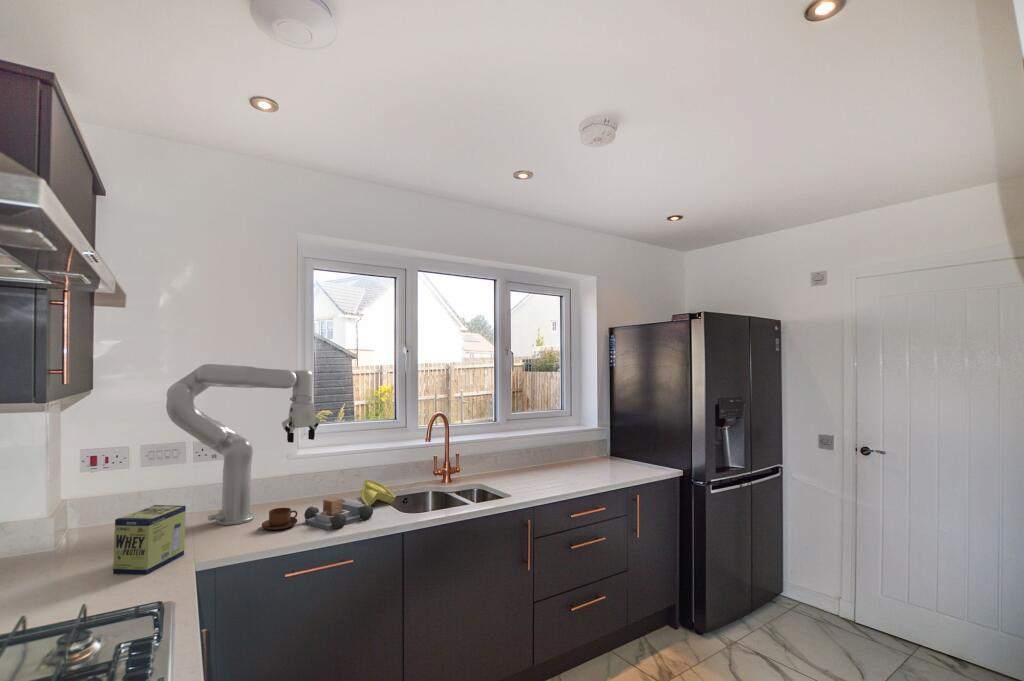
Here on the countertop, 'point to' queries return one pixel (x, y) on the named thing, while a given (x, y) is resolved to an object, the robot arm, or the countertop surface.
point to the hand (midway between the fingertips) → (301, 440)
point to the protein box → (148, 539)
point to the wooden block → (332, 506)
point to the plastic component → (375, 493)
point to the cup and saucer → (280, 519)
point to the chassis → (338, 515)
